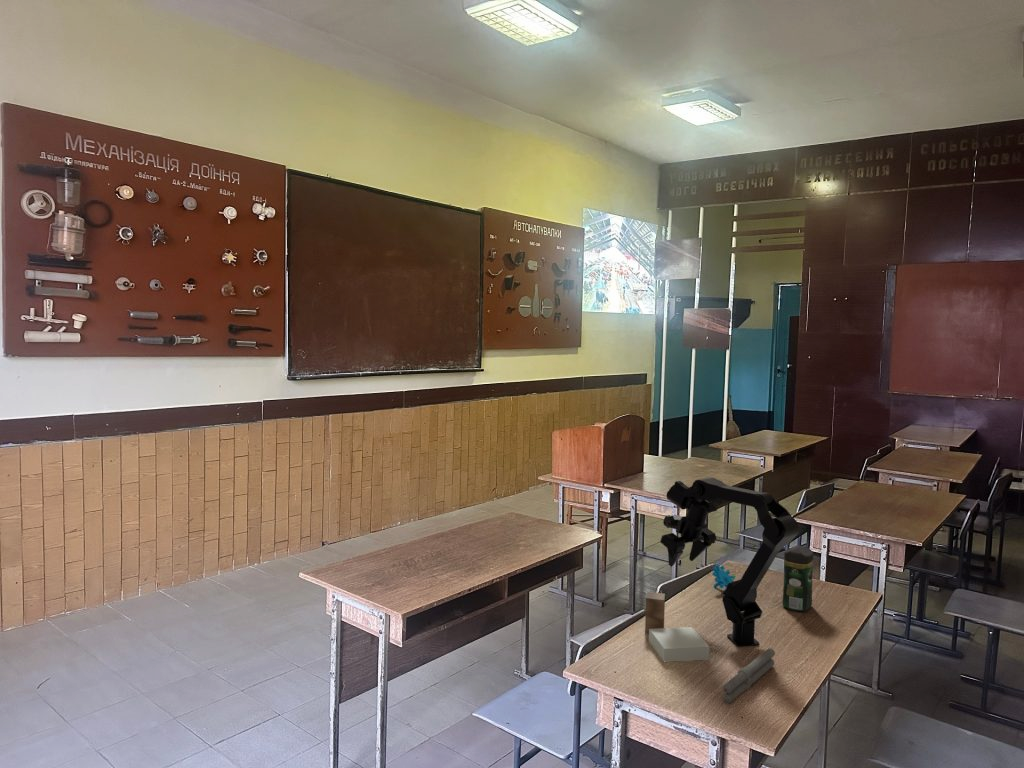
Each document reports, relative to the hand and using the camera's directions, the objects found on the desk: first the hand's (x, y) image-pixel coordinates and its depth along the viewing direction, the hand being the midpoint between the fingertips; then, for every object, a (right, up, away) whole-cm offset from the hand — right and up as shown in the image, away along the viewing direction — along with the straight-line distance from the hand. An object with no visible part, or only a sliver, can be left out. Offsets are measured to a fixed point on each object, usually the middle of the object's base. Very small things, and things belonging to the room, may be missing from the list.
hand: (680, 563), depth 207 cm
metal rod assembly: (+7, -19, -41) cm, 45 cm away
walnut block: (-10, -16, -11) cm, 22 cm away
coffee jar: (+38, -16, +9) cm, 42 cm away
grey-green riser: (-6, -18, -23) cm, 30 cm away
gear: (+20, -15, +22) cm, 34 cm away
